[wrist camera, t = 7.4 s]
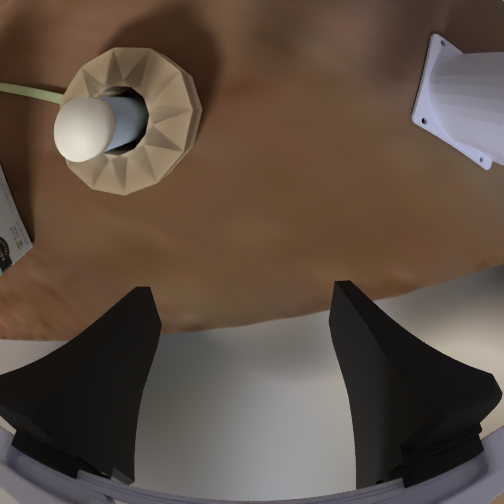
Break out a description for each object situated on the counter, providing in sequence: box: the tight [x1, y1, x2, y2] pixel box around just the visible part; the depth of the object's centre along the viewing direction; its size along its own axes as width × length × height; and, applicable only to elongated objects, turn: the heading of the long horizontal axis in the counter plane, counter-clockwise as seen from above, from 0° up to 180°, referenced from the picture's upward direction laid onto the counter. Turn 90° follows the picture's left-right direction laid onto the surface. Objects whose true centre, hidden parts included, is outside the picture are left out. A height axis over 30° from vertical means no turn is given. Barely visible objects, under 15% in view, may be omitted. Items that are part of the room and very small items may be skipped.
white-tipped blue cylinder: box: [54, 97, 149, 162], centre depth 13 cm, size 3×3×7 cm
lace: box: [0, 83, 64, 104], centre depth 13 cm, size 14×1×1 cm, turn 65°
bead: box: [60, 48, 203, 195], centre depth 15 cm, size 9×9×3 cm
